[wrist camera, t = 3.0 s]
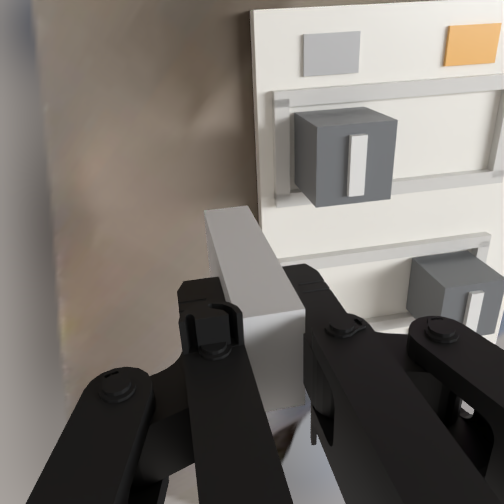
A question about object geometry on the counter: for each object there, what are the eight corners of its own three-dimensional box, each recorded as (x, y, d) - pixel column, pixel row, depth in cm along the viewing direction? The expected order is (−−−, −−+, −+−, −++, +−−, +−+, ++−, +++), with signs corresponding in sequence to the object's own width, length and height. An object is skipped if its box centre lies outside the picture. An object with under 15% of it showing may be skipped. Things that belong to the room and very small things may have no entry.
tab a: (294, 112, 25) (319, 128, 21) (364, 106, 26) (400, 121, 22) (294, 183, 27) (317, 209, 23) (360, 176, 28) (393, 201, 24)
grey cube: (412, 257, 31) (448, 290, 27) (467, 250, 31) (510, 281, 28) (405, 308, 33) (438, 346, 29) (458, 300, 33) (497, 336, 29)
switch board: (249, 10, 24) (255, 9, 22) (564, -6, 26) (587, -7, 25) (265, 376, 34) (270, 391, 33) (486, 339, 37) (499, 351, 36)
